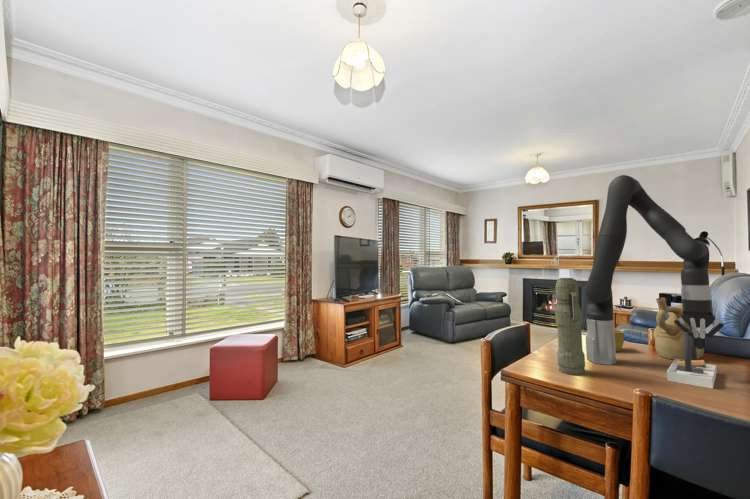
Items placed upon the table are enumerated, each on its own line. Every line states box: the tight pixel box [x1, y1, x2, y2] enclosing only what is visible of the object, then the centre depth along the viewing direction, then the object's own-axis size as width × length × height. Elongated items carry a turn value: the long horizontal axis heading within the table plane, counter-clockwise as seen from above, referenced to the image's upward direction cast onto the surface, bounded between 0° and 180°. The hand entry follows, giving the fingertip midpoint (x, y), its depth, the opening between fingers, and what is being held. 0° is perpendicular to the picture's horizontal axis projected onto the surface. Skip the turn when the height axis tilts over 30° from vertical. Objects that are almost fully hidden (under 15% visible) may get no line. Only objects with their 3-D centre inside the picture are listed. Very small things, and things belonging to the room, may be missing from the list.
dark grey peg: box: [683, 332, 692, 372], centre depth 111 cm, size 2×2×13 cm
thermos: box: [554, 277, 586, 376], centre depth 127 cm, size 9×12×35 cm
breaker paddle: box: [677, 359, 706, 367], centre depth 117 cm, size 2×7×2 cm, turn 42°
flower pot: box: [614, 328, 625, 352], centre depth 154 cm, size 9×9×9 cm
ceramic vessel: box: [652, 297, 705, 361], centre depth 140 cm, size 17×20×25 cm
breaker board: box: [666, 359, 718, 390], centre depth 117 cm, size 19×11×4 cm, turn 132°
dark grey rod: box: [689, 326, 697, 360], centre depth 123 cm, size 2×2×13 cm
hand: (700, 348), depth 115 cm, fingers closed
